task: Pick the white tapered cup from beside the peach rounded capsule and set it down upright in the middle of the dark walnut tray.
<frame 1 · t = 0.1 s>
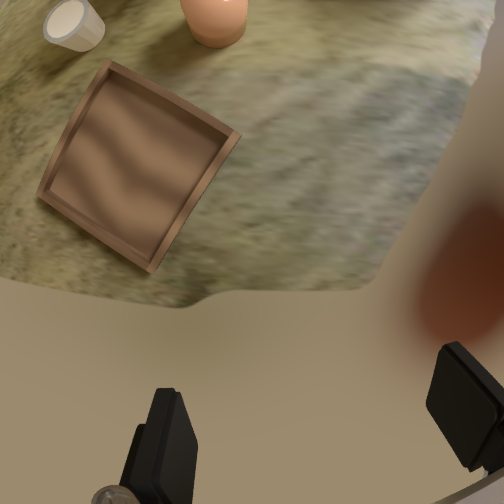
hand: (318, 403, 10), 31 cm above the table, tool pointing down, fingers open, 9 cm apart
peach rounded capsule: (218, 24, 32), on the table
walnut tray: (130, 162, 37), on the table
white tapered cup: (88, 34, 31), on the table
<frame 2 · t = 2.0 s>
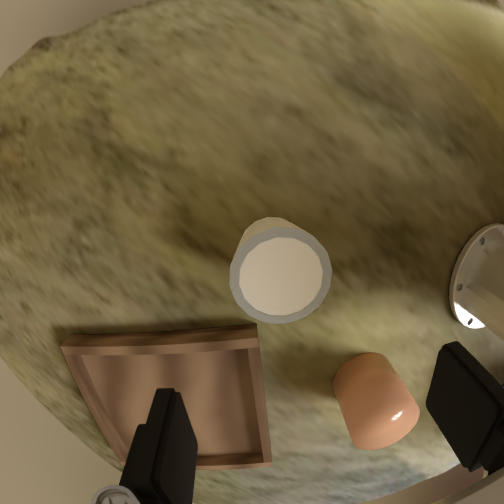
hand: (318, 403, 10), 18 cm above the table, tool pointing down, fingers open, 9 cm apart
peach rounded capsule: (362, 378, 32), on the table
walnut tray: (176, 405, 32), on the table
white tapered cup: (271, 248, 28), on the table
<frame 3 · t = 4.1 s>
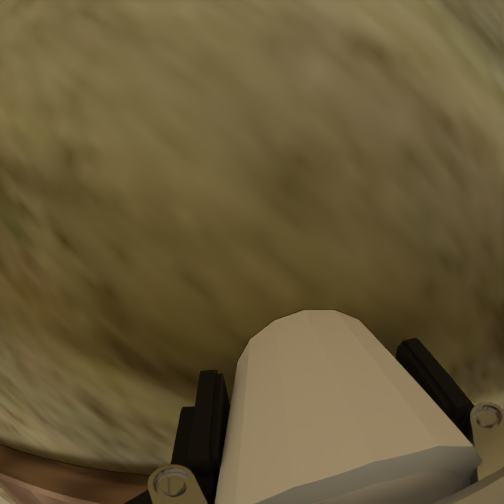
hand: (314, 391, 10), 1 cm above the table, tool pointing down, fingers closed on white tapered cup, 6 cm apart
white tapered cup: (308, 369, 12), on the table, touching gripper
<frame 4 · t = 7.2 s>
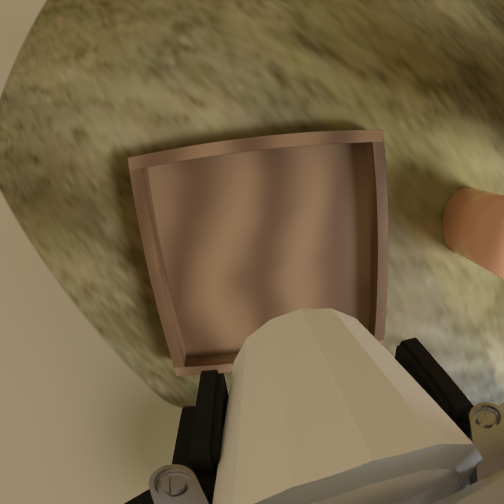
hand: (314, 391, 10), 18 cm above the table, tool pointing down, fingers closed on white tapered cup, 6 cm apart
peach rounded capsule: (466, 221, 27), on the table
walnut tray: (269, 255, 28), on the table
white tapered cup: (305, 368, 12), point 17 cm above the table, touching gripper
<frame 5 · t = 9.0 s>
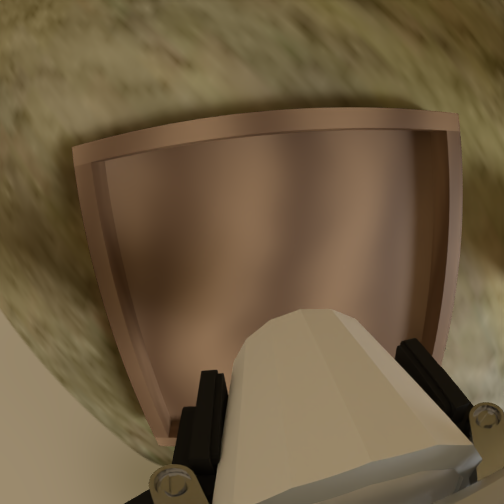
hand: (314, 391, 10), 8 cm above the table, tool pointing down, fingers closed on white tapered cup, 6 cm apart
walnut tray: (288, 295, 18), on the table
white tapered cup: (304, 369, 12), point 7 cm above the table, touching gripper
when the fingers open (3 cm above the table, at t = 10.5 s): white tapered cup drops 1 cm, resting on walnut tray.
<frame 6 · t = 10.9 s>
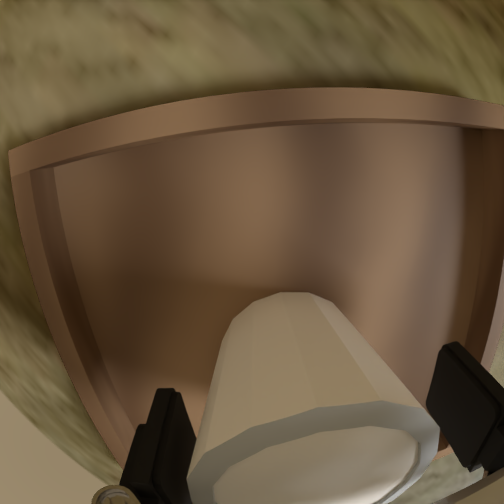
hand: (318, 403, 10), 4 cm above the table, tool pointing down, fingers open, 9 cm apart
walnut tray: (299, 341, 14), on the table
white tapered cup: (287, 349, 13), point 1 cm above the table, touching walnut tray
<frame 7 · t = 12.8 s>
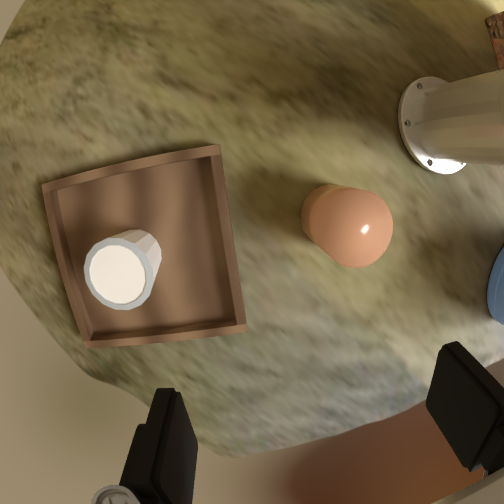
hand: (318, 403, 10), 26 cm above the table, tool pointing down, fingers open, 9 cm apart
peach rounded capsule: (330, 215, 35), on the table
walnut tray: (144, 252, 34), on the table
white tapered cup: (137, 254, 33), point 1 cm above the table, touching walnut tray
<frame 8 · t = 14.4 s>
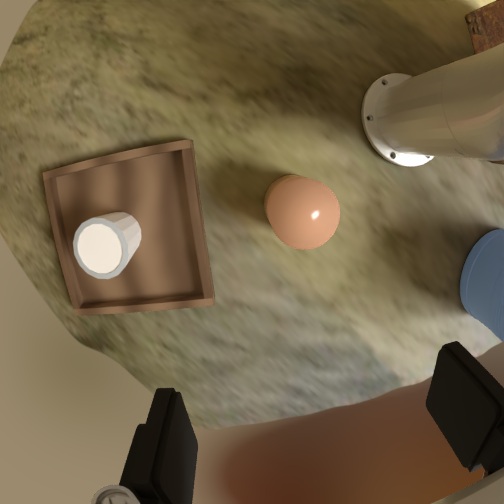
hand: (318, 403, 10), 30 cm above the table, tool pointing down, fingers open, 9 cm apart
water jug: (488, 272, 43), on the table
book: (498, 88, 34), on the table
peach rounded capsule: (292, 203, 38), on the table
walnut tray: (127, 232, 38), on the table
white tapered cup: (121, 233, 38), point 1 cm above the table, touching walnut tray
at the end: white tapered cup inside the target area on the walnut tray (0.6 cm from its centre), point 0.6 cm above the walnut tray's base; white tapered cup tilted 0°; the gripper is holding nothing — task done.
